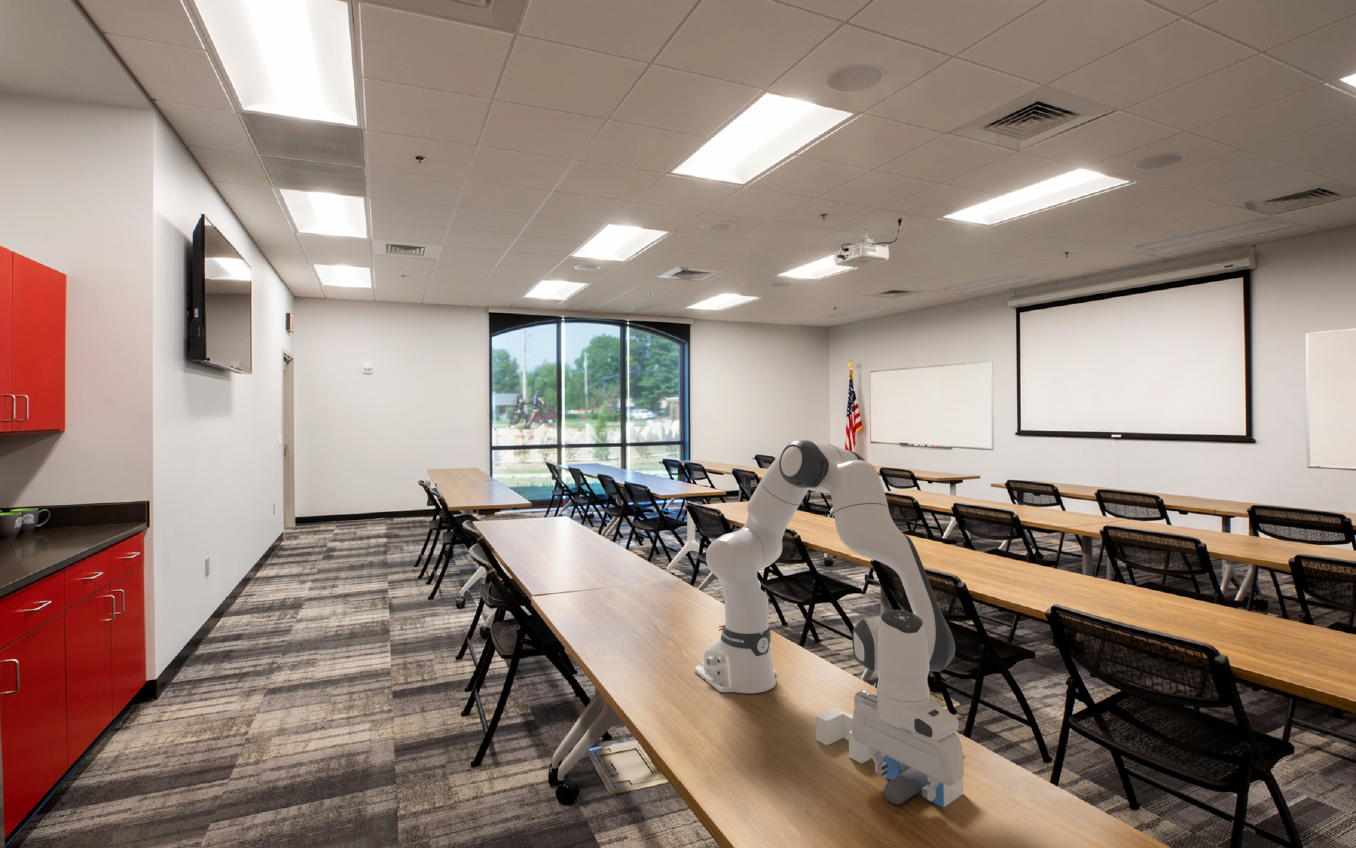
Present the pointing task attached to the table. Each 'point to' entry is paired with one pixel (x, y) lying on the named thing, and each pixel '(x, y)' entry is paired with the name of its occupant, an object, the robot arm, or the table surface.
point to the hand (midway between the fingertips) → (904, 785)
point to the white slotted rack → (840, 726)
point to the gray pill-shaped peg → (905, 786)
